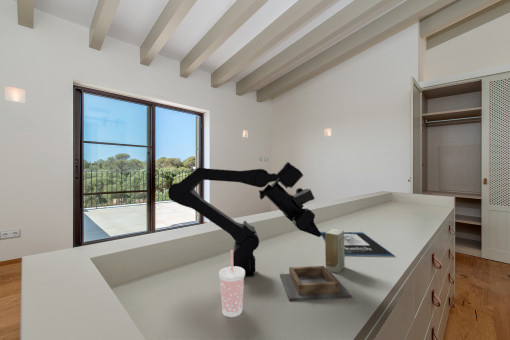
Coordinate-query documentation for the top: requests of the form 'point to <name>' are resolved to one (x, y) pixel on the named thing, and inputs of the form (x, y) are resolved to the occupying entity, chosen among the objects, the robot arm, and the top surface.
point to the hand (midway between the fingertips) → (315, 231)
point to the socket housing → (312, 284)
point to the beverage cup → (232, 289)
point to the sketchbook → (361, 245)
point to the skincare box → (334, 250)
